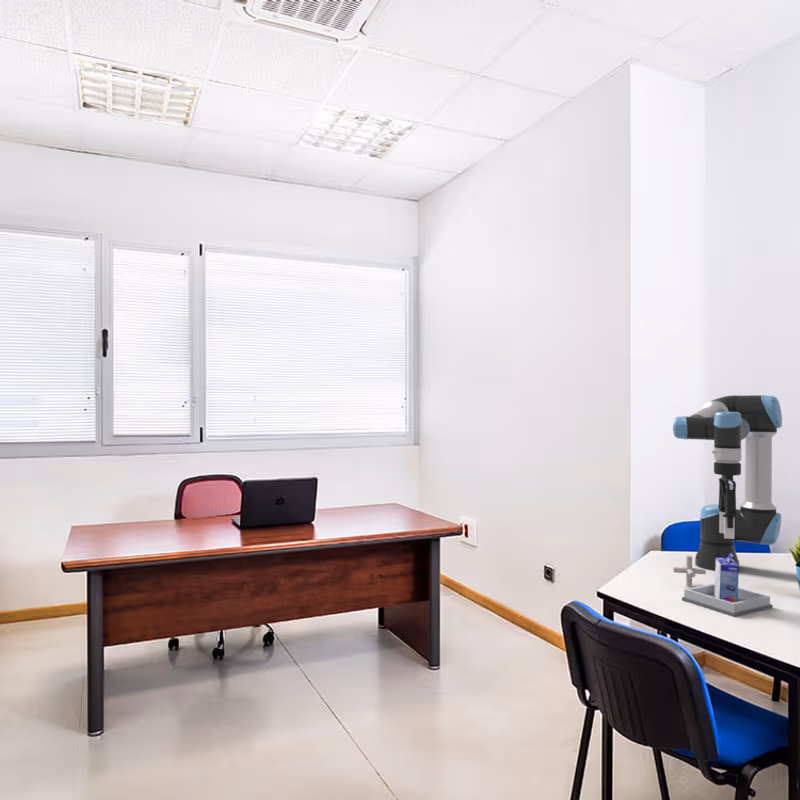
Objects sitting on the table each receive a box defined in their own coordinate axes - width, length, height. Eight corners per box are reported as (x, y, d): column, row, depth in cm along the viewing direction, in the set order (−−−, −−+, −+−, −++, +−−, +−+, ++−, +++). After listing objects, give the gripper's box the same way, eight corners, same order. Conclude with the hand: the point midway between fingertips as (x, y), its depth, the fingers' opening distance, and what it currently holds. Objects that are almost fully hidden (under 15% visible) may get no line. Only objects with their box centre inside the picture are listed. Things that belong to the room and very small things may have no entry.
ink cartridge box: (739, 606, 199) (739, 558, 199) (719, 604, 201) (719, 556, 201) (733, 596, 209) (733, 550, 209) (714, 595, 210) (714, 549, 210)
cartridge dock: (719, 592, 217) (719, 581, 217) (772, 608, 201) (772, 596, 201) (681, 600, 208) (682, 589, 208) (734, 616, 193) (734, 604, 192)
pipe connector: (708, 590, 219) (708, 560, 219) (676, 588, 221) (676, 558, 221) (701, 582, 229) (701, 553, 229) (670, 580, 231) (670, 552, 231)
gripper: (708, 458, 215) (708, 528, 215) (719, 464, 196) (719, 541, 196) (734, 459, 213) (733, 530, 213) (747, 465, 194) (747, 543, 194)
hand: (726, 535), depth 205 cm, fingers open, 8 cm apart
